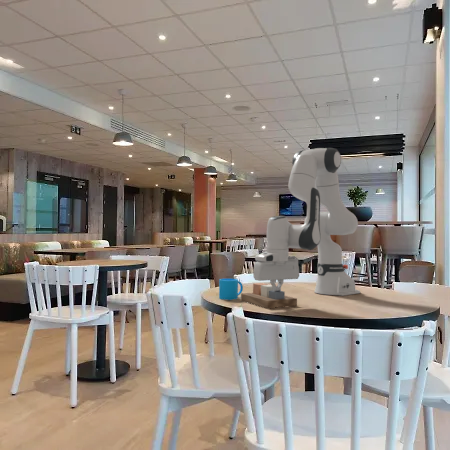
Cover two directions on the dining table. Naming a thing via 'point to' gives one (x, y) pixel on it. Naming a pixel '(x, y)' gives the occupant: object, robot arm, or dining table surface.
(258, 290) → the terracotta cube
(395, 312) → the dining table surface
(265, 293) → the cream cube
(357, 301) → the dining table surface
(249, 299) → the wooden pallet
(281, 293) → the blue-grey cube
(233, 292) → the mug
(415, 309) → the dining table surface
